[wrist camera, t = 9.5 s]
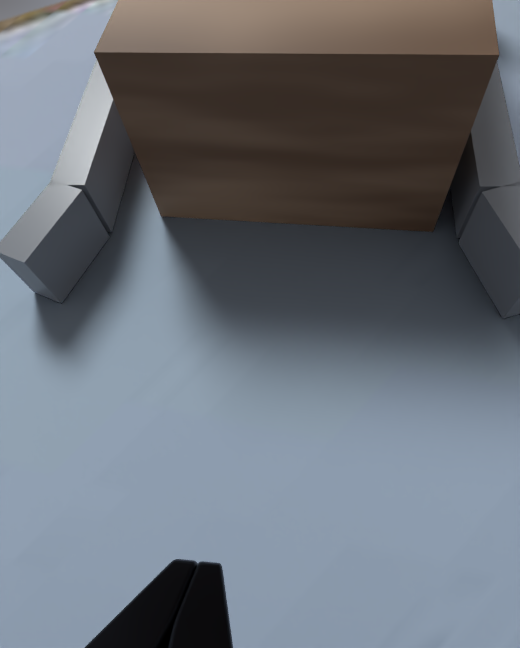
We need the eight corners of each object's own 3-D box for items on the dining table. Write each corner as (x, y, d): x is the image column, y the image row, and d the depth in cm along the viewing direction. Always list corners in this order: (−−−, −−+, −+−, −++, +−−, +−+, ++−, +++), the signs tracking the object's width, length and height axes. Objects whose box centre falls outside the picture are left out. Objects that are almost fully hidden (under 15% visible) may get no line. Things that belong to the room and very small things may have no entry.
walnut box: (432, 235, 20) (498, 54, 13) (162, 219, 22) (94, 52, 15) (426, 33, 27) (470, -163, 19) (217, 33, 28) (187, -147, 21)
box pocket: (542, 319, 18) (620, 237, 13) (30, 302, 20) (-48, 227, 16) (477, 3, 27) (511, -108, 23) (130, 17, 29) (99, -82, 25)
